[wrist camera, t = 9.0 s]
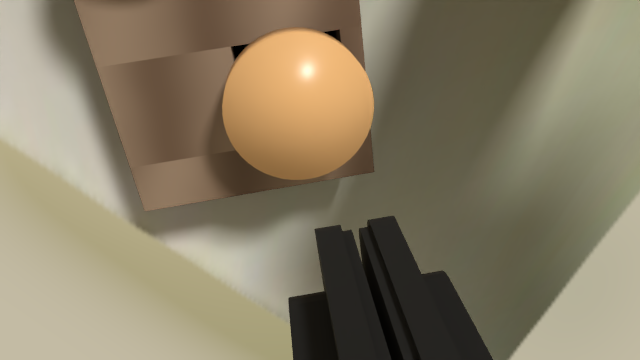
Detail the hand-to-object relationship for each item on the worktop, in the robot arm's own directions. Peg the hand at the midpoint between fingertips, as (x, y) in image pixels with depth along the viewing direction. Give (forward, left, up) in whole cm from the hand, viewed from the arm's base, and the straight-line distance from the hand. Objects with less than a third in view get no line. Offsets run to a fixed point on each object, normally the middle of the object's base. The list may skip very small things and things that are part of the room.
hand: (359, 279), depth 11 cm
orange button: (0, 0, -18) cm, 18 cm away
